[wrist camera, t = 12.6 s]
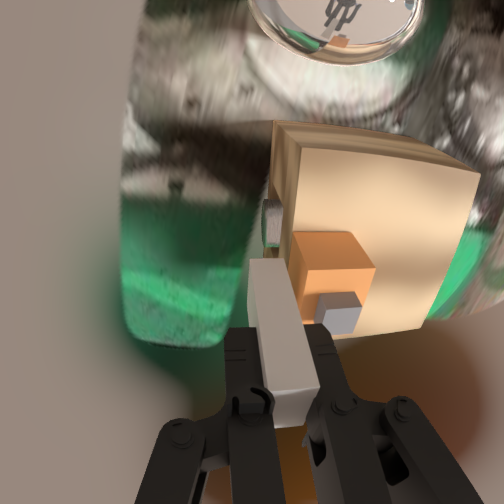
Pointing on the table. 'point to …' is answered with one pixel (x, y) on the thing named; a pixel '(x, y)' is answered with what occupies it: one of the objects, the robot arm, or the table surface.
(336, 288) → the bar
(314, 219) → the block
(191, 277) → the table surface
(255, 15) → the light bulb
